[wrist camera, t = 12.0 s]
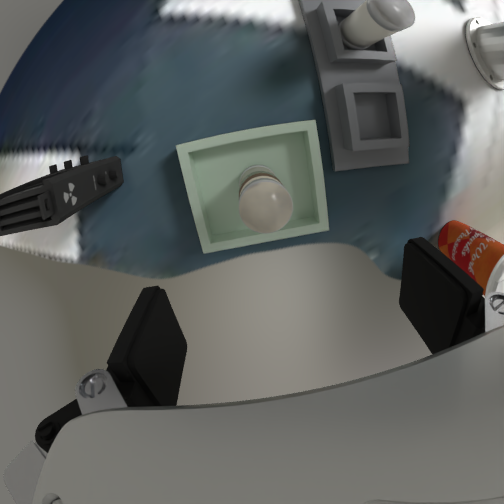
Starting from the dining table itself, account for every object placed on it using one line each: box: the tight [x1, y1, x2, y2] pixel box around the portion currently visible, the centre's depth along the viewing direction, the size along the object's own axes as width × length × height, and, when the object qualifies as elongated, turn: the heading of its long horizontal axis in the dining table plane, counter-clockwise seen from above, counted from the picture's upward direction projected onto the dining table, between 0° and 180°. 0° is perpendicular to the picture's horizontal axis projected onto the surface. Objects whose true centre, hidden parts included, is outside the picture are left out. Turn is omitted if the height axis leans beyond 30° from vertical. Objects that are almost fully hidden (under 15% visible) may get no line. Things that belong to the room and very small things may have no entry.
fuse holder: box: [299, 0, 410, 171], centre depth 24 cm, size 10×22×4 cm, turn 11°
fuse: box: [338, 0, 415, 50], centre depth 18 cm, size 4×4×10 cm
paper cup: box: [438, 220, 504, 297], centre depth 28 cm, size 8×8×14 cm
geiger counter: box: [0, 155, 124, 236], centre depth 22 cm, size 10×4×15 cm, turn 94°
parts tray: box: [176, 120, 329, 254], centre depth 29 cm, size 14×12×3 cm
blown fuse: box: [239, 164, 293, 233], centre depth 26 cm, size 4×4×10 cm
